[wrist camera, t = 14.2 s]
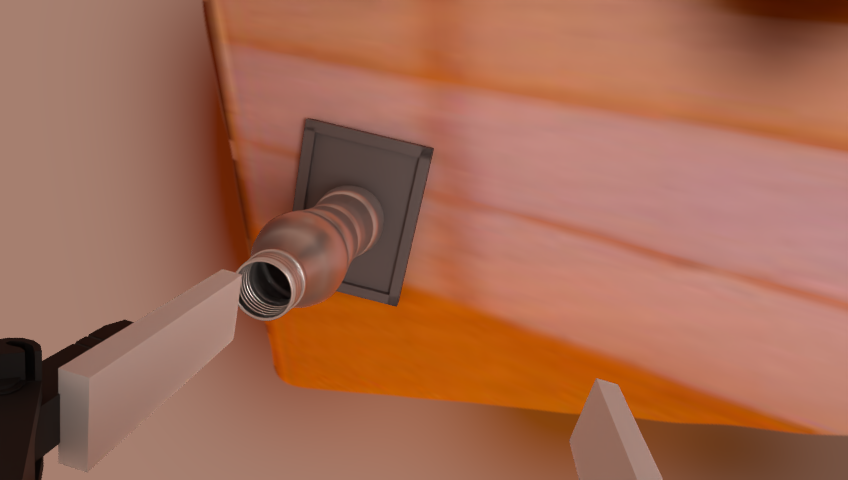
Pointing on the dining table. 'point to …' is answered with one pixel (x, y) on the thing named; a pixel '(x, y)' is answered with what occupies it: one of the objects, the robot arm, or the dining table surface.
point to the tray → (382, 176)
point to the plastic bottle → (308, 252)
